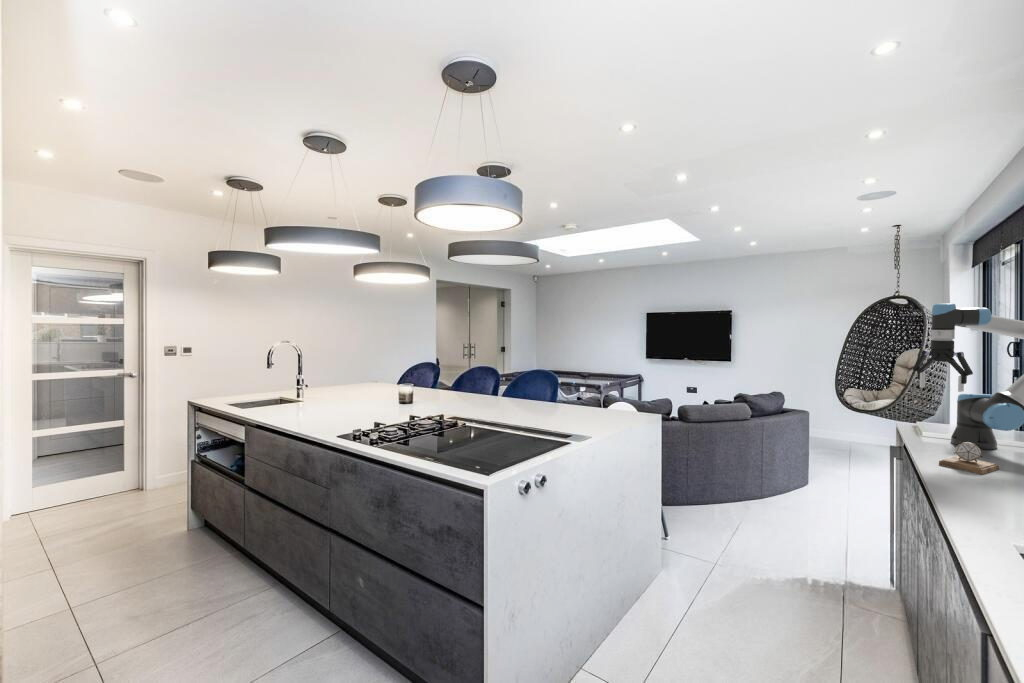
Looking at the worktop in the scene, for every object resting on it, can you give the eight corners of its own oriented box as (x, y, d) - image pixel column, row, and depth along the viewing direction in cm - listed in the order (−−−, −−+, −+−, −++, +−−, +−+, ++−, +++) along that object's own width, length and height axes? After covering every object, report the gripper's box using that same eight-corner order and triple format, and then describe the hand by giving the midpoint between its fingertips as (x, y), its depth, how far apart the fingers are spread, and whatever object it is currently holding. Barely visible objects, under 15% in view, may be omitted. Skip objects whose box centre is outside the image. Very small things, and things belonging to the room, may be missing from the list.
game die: (974, 472, 191) (994, 456, 184) (950, 463, 192) (970, 447, 186) (966, 455, 197) (985, 439, 191) (943, 447, 199) (961, 430, 193)
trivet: (956, 460, 200) (956, 455, 200) (998, 469, 188) (999, 464, 188) (939, 464, 195) (939, 459, 195) (981, 474, 183) (981, 469, 183)
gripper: (904, 338, 220) (902, 386, 222) (975, 341, 198) (973, 394, 199) (913, 338, 224) (912, 385, 225) (984, 340, 201) (982, 392, 202)
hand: (941, 389), depth 212 cm, fingers open, 13 cm apart
